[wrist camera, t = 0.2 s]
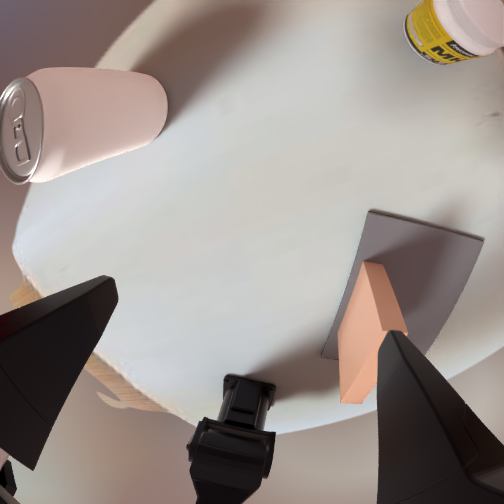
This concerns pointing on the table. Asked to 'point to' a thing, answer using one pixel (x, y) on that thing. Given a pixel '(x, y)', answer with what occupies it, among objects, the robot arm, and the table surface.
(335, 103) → the table surface
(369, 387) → the tile
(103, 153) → the can
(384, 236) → the mat
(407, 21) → the supplement bottle
